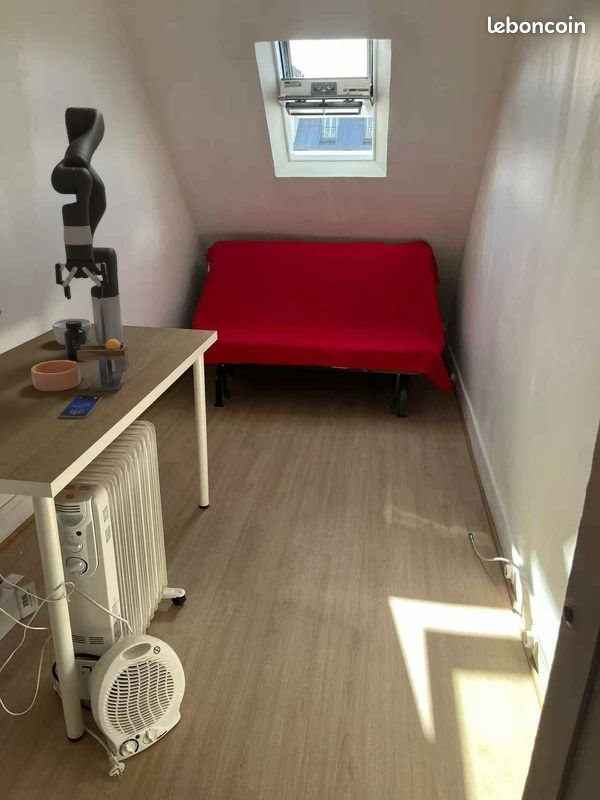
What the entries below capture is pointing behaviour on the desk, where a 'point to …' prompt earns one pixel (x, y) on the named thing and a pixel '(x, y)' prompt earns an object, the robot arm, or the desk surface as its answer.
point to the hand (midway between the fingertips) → (84, 298)
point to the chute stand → (106, 376)
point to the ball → (112, 344)
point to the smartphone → (80, 407)
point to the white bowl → (60, 328)
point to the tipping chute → (93, 350)
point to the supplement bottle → (74, 338)
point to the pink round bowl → (56, 375)
